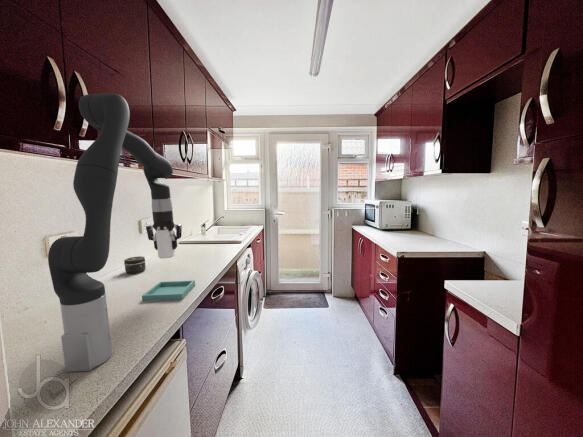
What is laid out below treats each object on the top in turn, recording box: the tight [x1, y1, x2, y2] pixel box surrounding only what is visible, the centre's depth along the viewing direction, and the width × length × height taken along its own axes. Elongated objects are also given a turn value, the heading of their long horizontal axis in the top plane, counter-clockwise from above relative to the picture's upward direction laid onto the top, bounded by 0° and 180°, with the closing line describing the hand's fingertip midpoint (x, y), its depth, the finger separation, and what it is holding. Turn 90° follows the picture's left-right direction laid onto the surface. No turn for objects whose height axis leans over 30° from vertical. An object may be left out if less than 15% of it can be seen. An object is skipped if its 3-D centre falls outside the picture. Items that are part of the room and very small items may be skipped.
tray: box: [141, 279, 196, 302], centre depth 114 cm, size 16×16×2 cm
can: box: [155, 229, 176, 259], centre depth 111 cm, size 6×6×12 cm
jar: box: [123, 255, 146, 275], centre depth 146 cm, size 10×10×8 cm
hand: (166, 249), depth 111 cm, fingers closed on can, 6 cm apart
